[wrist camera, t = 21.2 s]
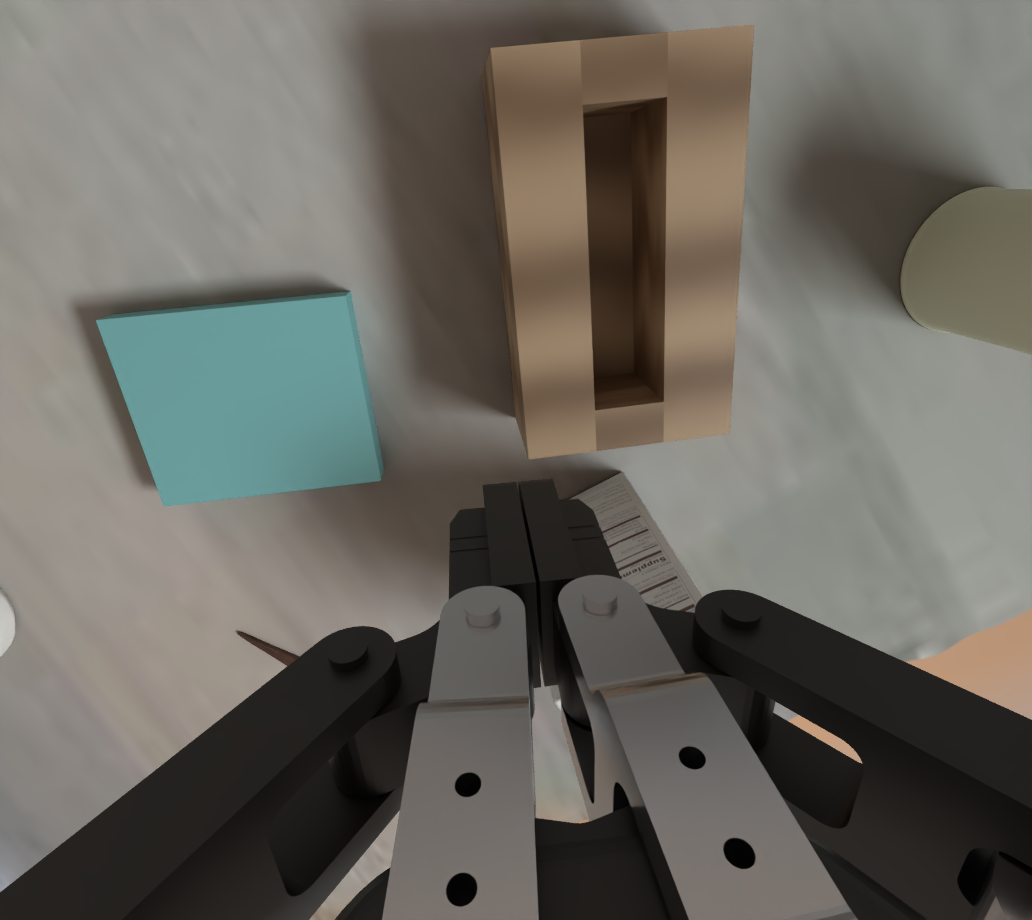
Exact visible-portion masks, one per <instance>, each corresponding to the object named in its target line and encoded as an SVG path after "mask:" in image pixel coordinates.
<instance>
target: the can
mask: <svg viewBox="0 0 1032 920" xmlns="http://www.w3.org/2000/svg"><path fill="white" fill-rule="evenodd" d="M900 287H901V295H902V299H903V302H904V305H905V307H906V309H907V311H908V313H909V314H910V315H911V317H912V318H913V319H914V320H915V321H916V322H918V323H919V324H920V325H922V326H923V327H925V328H928V329H930V330H934V331H938V332H950V333H954V334H958V335H962V336H966V337H970V338H973V339H977V340H981V341H984V342H988V343H992V344H995V345H999V346H1002V347H1006V348H1009V349H1013V350H1016V351H1020V352H1023V353H1027V354H1031V355H1032V190H1026V189H1006V188H1002V187H993V186H992V187H980V188H975V189H972V190H968V191H966V192H963V193H961V194H959V195H957V196H955V197H953V198H951V199H950V200H948V201H947V202H945V203H944V204H943V205H941V206H940V207H939V208H938V209H936V210H935V211H934V212H933V213H932V214H931V215H930V216H929V217H928V218H927V219H926V221H925V222H924V223H923V224H922V226H921V227H920V228H919V230H918V231H917V233H916V234H915V236H914V238H913V239H912V241H911V243H910V245H909V247H908V250H907V252H906V255H905V257H904V261H903V265H902V270H901V278H900Z"/></svg>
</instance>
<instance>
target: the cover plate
mask: <svg viewBox="0 0 1032 920" xmlns="http://www.w3.org/2000/svg"><path fill="white" fill-rule="evenodd" d="M96 322H97V325H98V328H99V331H100V333H101V336H102V339H103V341H104V344H105V347H106V350H107V352H108V355H109V358H110V361H111V363H112V366H113V369H114V372H115V374H116V377H117V380H118V382H119V385H120V388H121V391H122V393H123V396H124V399H125V402H126V404H127V407H128V410H129V413H130V415H131V418H132V421H133V424H134V426H135V429H136V432H137V434H138V437H139V440H140V443H141V445H142V448H143V451H144V454H145V456H146V459H147V462H148V465H149V467H150V470H151V473H152V475H153V478H154V481H155V484H156V486H157V489H158V492H159V495H160V497H161V500H162V503H163V506H171V505H180V504H189V503H197V502H206V501H214V500H223V499H231V498H240V497H248V496H257V495H266V494H274V493H283V492H291V491H300V490H308V489H317V488H325V487H334V486H343V485H351V484H360V483H368V482H377V481H381V479H382V475H383V471H384V465H383V460H382V455H381V449H380V444H379V439H378V433H377V428H376V423H375V418H374V412H373V407H372V402H371V397H370V391H369V386H368V381H367V375H366V370H365V365H364V360H363V354H362V349H361V344H360V339H359V333H358V328H357V323H356V317H355V312H354V307H353V302H352V296H351V291H346V292H336V293H326V294H315V295H305V296H295V297H285V298H274V299H264V300H254V301H244V302H233V303H223V304H213V305H202V306H192V307H182V308H172V309H161V310H151V311H141V312H131V313H120V314H112V315H109V316H107V317H104V318H101V319H98V320H96Z"/></svg>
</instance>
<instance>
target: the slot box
mask: <svg viewBox="0 0 1032 920" xmlns="http://www.w3.org/2000/svg"><path fill="white" fill-rule="evenodd" d="M753 38H754V25H744V26H733V27H722V28H710V29H699V30H688V31H676V32H665V33H654V34H642V35H631V36H620V37H608V38H597V39H586V40H574V41H563V42H552V43H540V44H529V45H518V46H506V47H495V48H490V51H489V55H488V58H487V61H486V64H485V68H484V71H483V74H482V83H483V93H484V103H485V113H486V123H487V133H488V143H489V153H490V163H491V173H492V183H493V194H494V204H495V214H496V224H497V234H498V244H499V254H500V264H501V274H502V284H503V294H504V304H505V315H506V325H507V335H508V345H509V355H510V365H511V375H512V385H513V395H514V405H515V415H516V421H517V424H518V427H519V430H520V433H521V437H522V440H523V443H524V446H525V450H526V453H527V456H528V459H529V460H530V459H538V458H545V457H553V456H561V455H568V454H576V453H584V452H592V451H599V450H607V449H615V448H622V447H630V446H638V445H646V444H653V443H661V442H669V441H676V440H684V439H692V438H700V437H707V436H715V435H723V434H730V419H731V403H732V386H733V369H734V353H735V336H736V320H737V303H738V287H739V270H740V253H741V237H742V220H743V204H744V187H745V171H746V154H747V137H748V121H749V104H750V88H751V71H752V55H753Z"/></svg>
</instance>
